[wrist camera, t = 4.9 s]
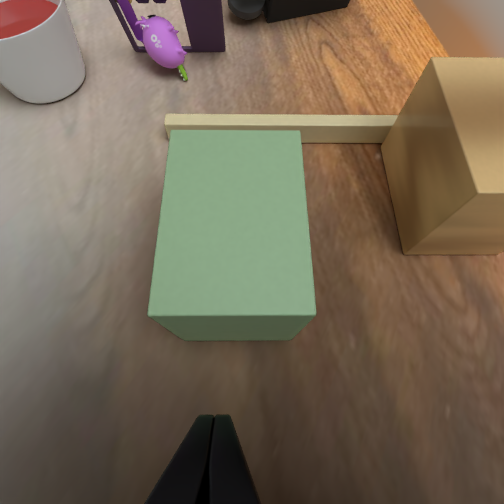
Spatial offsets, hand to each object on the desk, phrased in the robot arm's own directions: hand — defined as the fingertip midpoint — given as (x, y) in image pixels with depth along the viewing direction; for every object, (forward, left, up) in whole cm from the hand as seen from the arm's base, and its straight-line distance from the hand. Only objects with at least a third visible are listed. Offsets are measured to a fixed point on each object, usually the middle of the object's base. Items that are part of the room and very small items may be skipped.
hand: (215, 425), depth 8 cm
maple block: (+15, -16, -11) cm, 24 cm away
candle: (+28, +18, -11) cm, 35 cm away
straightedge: (+21, -6, -11) cm, 24 cm away
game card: (+30, +6, -12) cm, 32 cm away
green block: (+9, 0, -11) cm, 14 cm away
